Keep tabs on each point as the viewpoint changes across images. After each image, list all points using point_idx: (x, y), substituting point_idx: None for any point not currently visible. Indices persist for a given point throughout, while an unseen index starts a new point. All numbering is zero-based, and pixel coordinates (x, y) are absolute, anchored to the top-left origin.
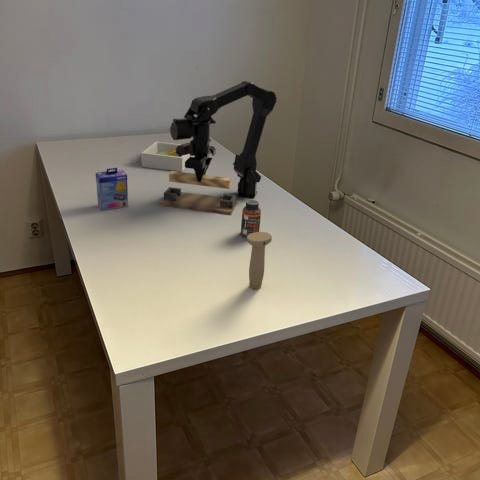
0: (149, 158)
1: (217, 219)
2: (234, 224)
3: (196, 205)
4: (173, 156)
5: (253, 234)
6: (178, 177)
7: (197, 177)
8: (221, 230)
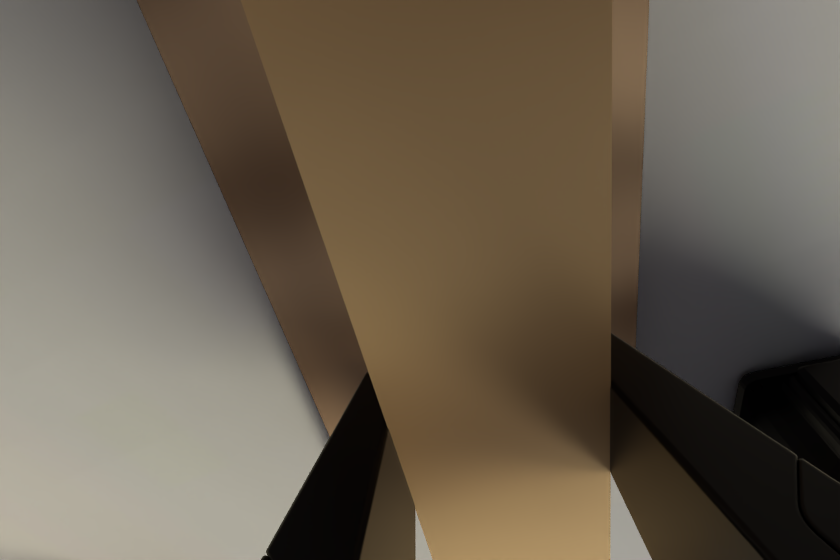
0: None
1: (203, 432)
2: (217, 527)
3: (285, 206)
4: None
5: None
6: None
7: (330, 467)
8: (67, 512)
